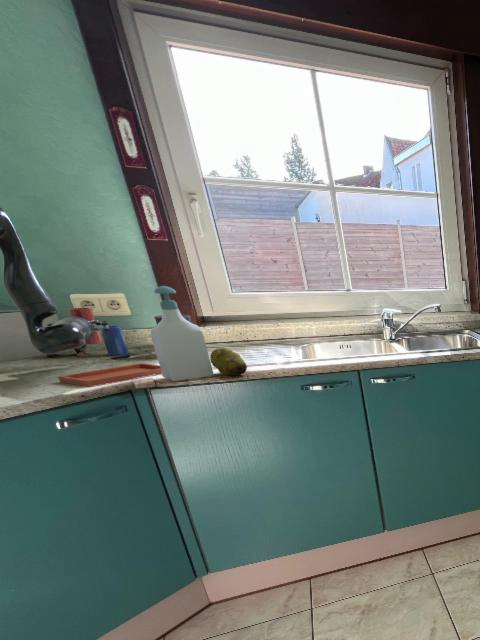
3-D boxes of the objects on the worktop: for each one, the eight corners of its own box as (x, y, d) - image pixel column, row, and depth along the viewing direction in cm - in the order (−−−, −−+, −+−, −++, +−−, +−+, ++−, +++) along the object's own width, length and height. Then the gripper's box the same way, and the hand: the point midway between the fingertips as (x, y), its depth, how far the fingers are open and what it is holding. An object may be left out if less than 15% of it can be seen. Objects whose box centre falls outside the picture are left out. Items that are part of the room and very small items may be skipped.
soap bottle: (202, 371, 162) (178, 284, 152) (213, 375, 158) (190, 286, 148) (161, 377, 153) (133, 285, 143) (172, 381, 149) (144, 287, 139)
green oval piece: (218, 379, 154) (212, 353, 151) (212, 371, 162) (206, 347, 159) (250, 375, 159) (244, 351, 156) (242, 368, 168) (236, 345, 165)
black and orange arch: (79, 363, 169) (54, 343, 164) (58, 374, 171) (33, 354, 166) (102, 348, 179) (79, 329, 174) (83, 358, 180) (60, 340, 175)
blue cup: (116, 359, 174) (105, 328, 170) (106, 358, 176) (95, 327, 172) (134, 357, 179) (124, 326, 175) (123, 355, 180) (113, 325, 176)
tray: (90, 386, 141) (88, 381, 140) (60, 381, 145) (57, 376, 144) (171, 372, 160) (170, 366, 160) (143, 368, 164) (141, 363, 163)
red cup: (86, 344, 159) (74, 309, 155) (75, 343, 160) (63, 308, 156) (106, 342, 164) (95, 308, 160) (95, 341, 165) (84, 307, 161)
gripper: (101, 317, 151) (112, 311, 164) (34, 318, 144) (51, 312, 157) (109, 341, 154) (119, 333, 167) (44, 344, 147) (60, 336, 159)
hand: (86, 323), depth 162 cm, fingers closed on red cup, 5 cm apart
